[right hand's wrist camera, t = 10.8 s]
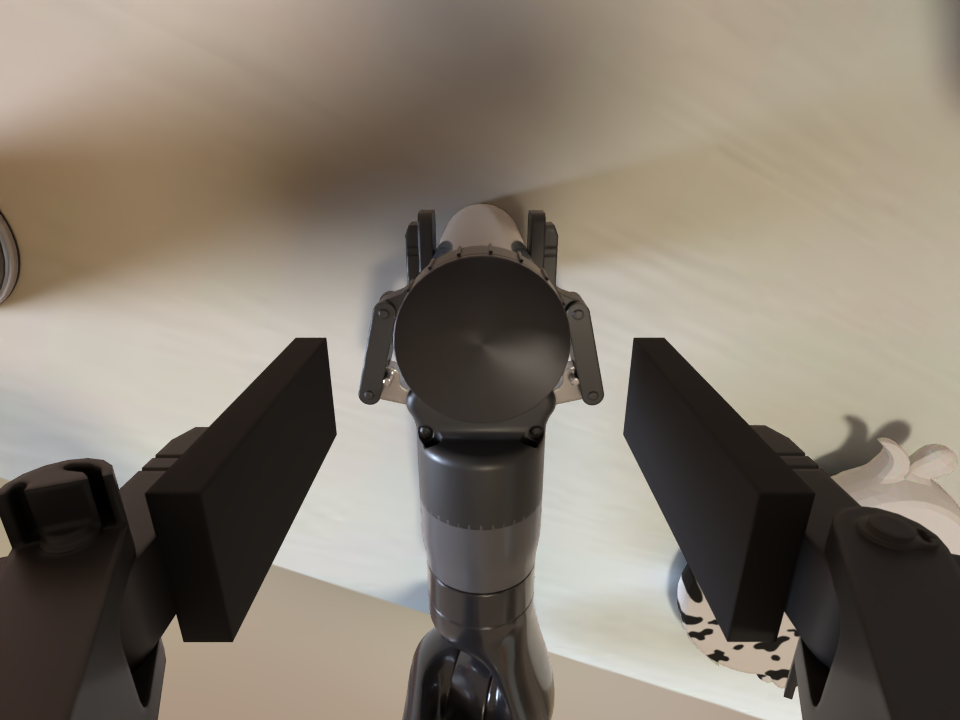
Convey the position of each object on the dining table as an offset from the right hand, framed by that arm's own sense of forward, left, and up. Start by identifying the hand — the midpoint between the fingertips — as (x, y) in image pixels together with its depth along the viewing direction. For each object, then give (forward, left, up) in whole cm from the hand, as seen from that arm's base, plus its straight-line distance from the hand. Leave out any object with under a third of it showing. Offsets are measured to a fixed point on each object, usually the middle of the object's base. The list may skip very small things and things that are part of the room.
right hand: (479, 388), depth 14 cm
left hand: (+1, -3, -16) cm, 16 cm away
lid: (0, 0, -4) cm, 4 cm away
